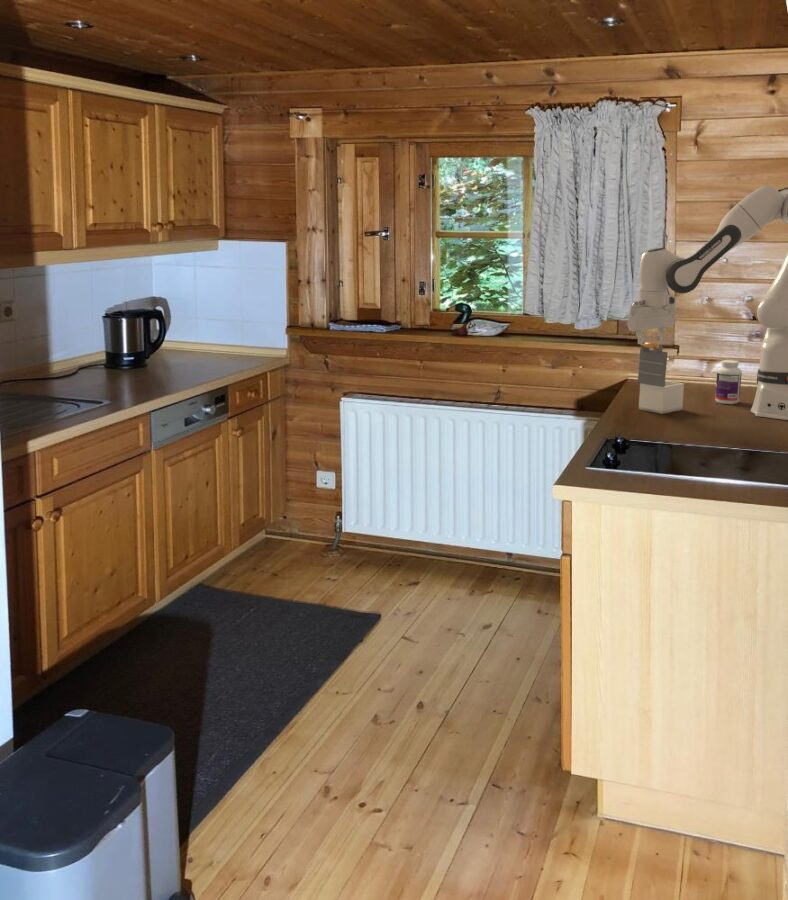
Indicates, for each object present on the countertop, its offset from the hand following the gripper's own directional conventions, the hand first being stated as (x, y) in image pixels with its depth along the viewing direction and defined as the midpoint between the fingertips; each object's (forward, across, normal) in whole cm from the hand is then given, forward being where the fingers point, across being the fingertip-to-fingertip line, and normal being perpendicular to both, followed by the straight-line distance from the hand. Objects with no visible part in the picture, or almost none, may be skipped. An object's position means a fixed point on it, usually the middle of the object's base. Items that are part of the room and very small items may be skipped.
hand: (650, 342), depth 341 cm
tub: (+23, +8, 0) cm, 24 cm away
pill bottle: (+24, +36, -7) cm, 43 cm away
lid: (+7, +2, 0) cm, 7 cm away
